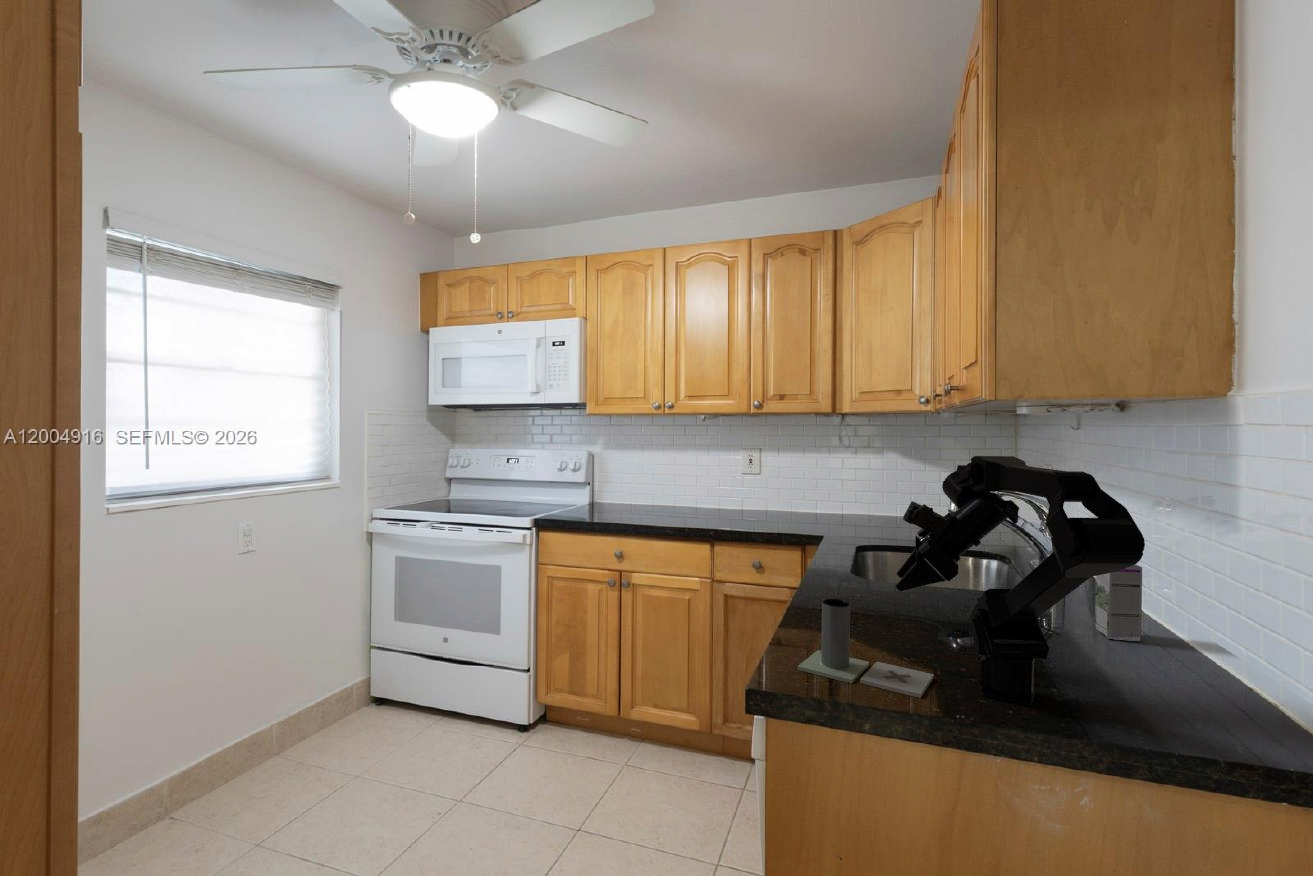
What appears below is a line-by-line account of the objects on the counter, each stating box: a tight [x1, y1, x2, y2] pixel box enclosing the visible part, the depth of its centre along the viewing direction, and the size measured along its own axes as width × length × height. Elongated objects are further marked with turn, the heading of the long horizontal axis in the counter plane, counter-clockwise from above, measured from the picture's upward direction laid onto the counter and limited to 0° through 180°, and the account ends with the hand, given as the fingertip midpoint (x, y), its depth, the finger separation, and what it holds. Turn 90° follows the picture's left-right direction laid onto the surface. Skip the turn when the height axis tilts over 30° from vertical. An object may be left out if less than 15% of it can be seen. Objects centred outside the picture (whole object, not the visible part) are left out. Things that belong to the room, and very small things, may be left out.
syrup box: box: [1094, 564, 1143, 638], centre depth 122 cm, size 6×6×14 cm
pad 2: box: [859, 661, 935, 699], centre depth 100 cm, size 9×9×1 cm
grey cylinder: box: [820, 598, 851, 669], centre depth 105 cm, size 4×4×10 cm
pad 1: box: [797, 649, 870, 684], centre depth 105 cm, size 9×9×1 cm
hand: (898, 582), depth 108 cm, fingers open, 9 cm apart
